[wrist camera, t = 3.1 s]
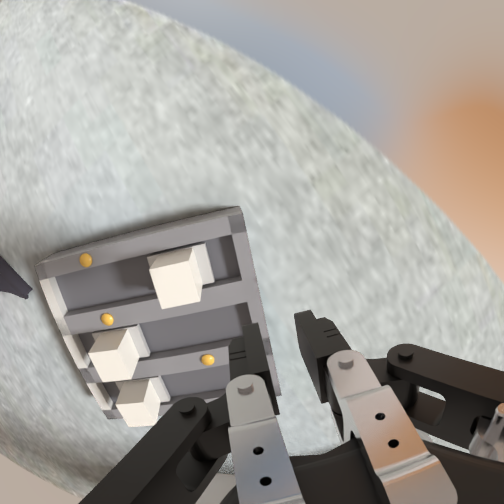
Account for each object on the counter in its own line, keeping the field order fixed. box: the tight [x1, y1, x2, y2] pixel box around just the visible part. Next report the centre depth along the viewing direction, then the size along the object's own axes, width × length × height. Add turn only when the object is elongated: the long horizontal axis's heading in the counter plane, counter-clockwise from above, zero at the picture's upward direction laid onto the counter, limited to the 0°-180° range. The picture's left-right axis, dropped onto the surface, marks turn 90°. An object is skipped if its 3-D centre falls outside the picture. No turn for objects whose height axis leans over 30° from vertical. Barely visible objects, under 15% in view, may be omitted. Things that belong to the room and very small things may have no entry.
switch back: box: [115, 376, 170, 427], centre depth 27 cm, size 5×3×4 cm
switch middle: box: [88, 324, 151, 382], centre depth 26 cm, size 5×3×4 cm
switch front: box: [147, 242, 215, 309], centre depth 24 cm, size 5×3×4 cm
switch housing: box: [34, 206, 281, 419], centre depth 29 cm, size 20×19×4 cm
